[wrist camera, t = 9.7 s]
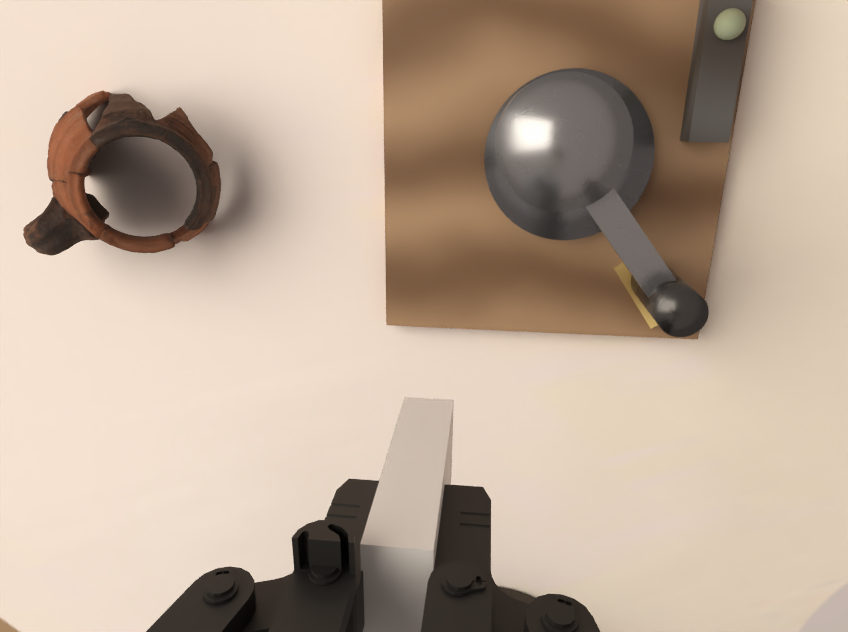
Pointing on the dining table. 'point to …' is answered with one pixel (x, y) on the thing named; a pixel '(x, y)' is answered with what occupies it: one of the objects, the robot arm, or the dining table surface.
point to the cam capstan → (586, 178)
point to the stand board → (466, 138)
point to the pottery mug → (68, 167)
